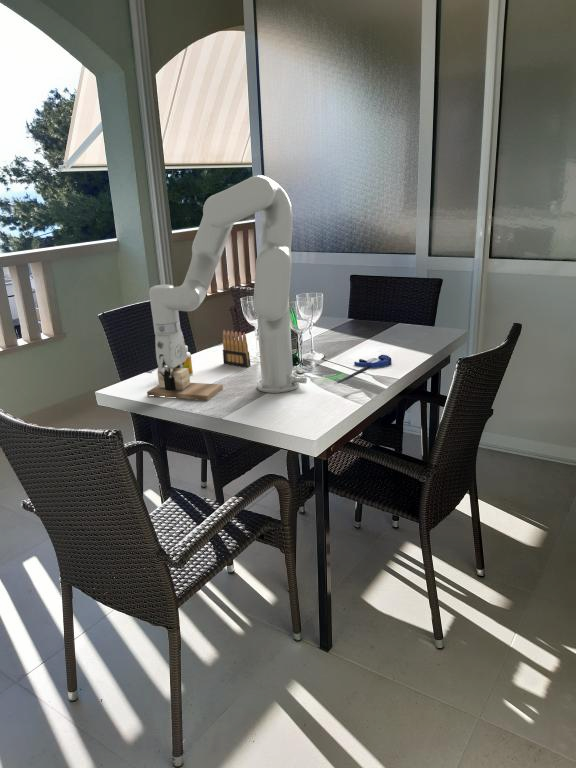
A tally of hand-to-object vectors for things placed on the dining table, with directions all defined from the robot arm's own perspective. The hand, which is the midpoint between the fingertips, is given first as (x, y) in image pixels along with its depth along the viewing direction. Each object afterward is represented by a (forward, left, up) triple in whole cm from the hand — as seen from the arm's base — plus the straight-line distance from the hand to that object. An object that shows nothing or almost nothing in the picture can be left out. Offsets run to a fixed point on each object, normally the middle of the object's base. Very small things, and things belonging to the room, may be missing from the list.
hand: (174, 386), depth 182 cm
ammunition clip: (-7, -29, -2) cm, 30 cm away
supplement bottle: (+6, -16, -2) cm, 17 cm away
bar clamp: (-49, -26, -3) cm, 56 cm away
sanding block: (0, 0, 0) cm, 0 cm away
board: (-3, 0, -2) cm, 4 cm away
